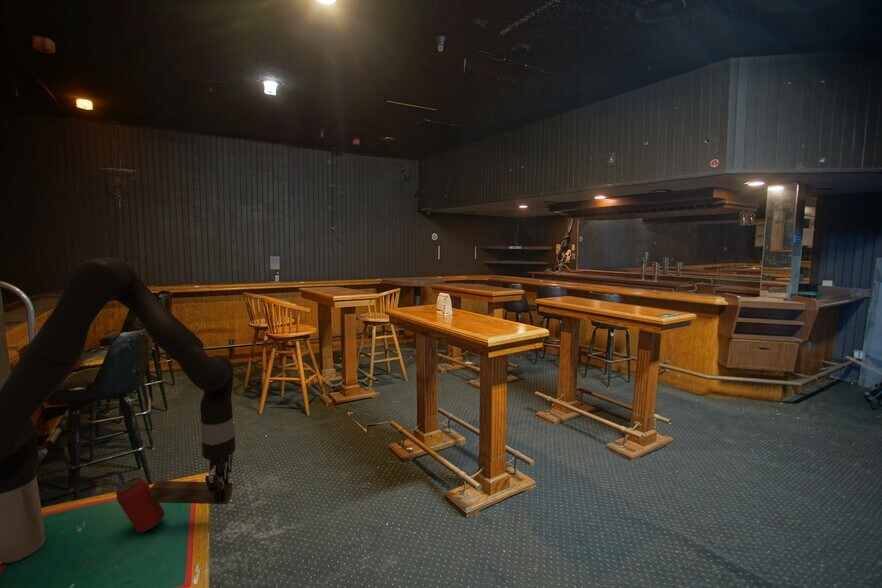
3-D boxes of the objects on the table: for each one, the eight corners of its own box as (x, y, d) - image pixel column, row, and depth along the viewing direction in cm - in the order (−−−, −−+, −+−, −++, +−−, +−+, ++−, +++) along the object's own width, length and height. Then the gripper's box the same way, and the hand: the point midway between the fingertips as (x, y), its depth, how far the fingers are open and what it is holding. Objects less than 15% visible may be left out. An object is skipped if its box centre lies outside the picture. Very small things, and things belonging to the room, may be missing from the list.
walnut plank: (150, 502, 106) (150, 487, 106) (156, 495, 109) (156, 480, 109) (227, 504, 110) (228, 489, 109) (231, 496, 113) (232, 482, 112)
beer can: (150, 531, 105) (126, 492, 102) (131, 535, 107) (106, 496, 104) (171, 511, 111) (148, 473, 108) (152, 514, 113) (129, 477, 110)
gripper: (212, 423, 114) (215, 482, 117) (190, 451, 100) (195, 517, 103) (242, 421, 115) (245, 480, 118) (225, 449, 101) (228, 514, 104)
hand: (222, 497), depth 111 cm, fingers closed on walnut plank, 3 cm apart
